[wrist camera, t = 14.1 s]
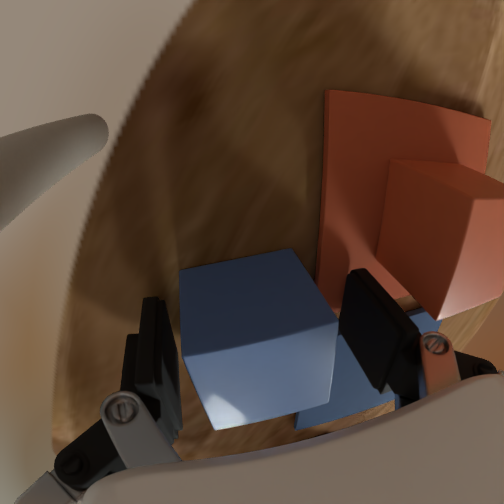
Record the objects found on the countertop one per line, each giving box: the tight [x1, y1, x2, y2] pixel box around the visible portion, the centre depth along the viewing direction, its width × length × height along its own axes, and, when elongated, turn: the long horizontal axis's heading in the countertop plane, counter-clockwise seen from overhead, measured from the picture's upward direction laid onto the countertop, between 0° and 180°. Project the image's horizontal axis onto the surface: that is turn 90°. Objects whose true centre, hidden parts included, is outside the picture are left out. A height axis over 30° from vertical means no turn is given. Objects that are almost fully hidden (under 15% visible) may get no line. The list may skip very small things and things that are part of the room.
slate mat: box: [294, 307, 442, 431], centre depth 17 cm, size 9×9×1 cm
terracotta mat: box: [314, 90, 491, 313], centre depth 12 cm, size 9×9×1 cm
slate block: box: [179, 248, 339, 430], centre depth 10 cm, size 4×4×4 cm
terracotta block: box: [375, 159, 504, 321], centre depth 10 cm, size 4×4×4 cm
